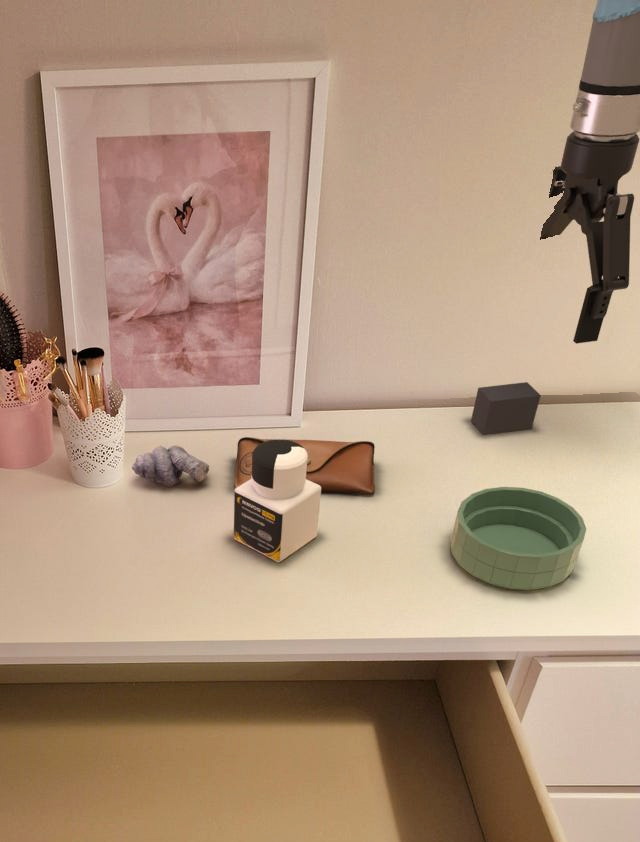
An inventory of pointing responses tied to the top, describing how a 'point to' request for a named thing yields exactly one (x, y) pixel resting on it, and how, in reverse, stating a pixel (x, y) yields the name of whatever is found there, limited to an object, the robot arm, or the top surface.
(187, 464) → the seashell
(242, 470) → the sunglasses case
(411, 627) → the top surface
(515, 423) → the eraser
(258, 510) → the medicine bottle
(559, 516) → the bowl
